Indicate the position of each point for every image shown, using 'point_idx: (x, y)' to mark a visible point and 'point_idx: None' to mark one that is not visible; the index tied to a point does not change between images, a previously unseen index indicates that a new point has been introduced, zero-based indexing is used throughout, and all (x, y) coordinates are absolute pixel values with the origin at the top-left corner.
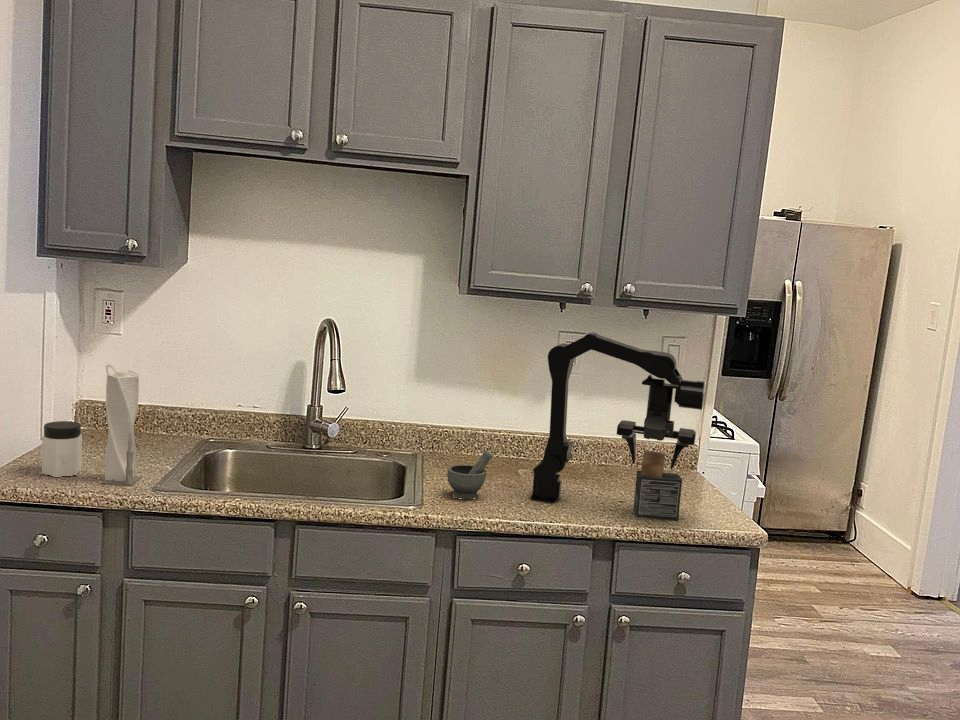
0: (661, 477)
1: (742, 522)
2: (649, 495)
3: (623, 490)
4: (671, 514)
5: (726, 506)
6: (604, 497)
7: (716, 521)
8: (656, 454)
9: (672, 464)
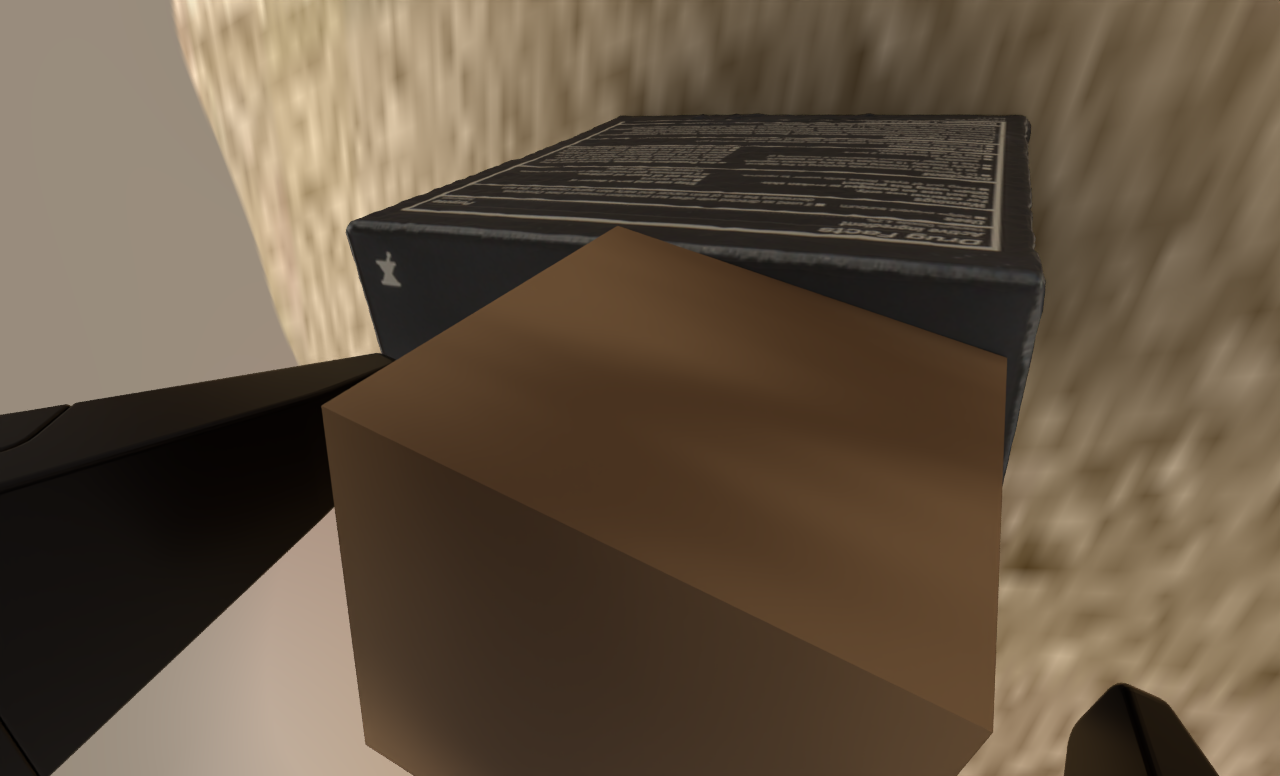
0: None
1: (259, 207)
2: (861, 167)
3: None
4: (655, 122)
5: None
6: (1173, 661)
7: (376, 185)
8: (515, 723)
9: (302, 377)
